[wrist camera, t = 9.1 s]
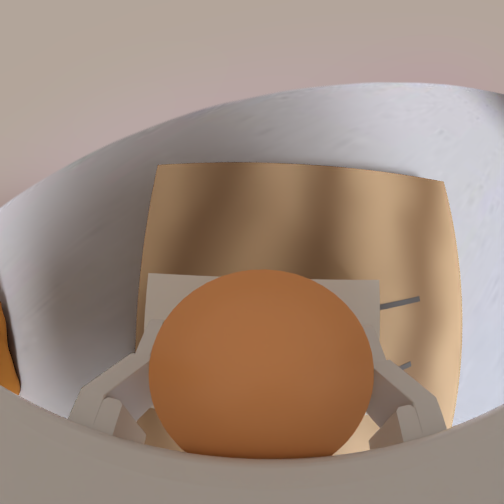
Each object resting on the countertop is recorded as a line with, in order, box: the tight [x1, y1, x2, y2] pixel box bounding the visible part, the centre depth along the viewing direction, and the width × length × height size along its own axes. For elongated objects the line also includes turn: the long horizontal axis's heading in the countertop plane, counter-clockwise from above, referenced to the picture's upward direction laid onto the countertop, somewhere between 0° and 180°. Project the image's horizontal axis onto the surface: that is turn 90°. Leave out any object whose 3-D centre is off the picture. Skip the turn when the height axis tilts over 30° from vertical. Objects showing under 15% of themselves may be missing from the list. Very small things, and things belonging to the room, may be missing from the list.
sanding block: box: [144, 269, 380, 459], centre depth 9 cm, size 10×6×8 cm, turn 88°
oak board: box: [135, 162, 462, 456], centre depth 14 cm, size 19×20×2 cm
